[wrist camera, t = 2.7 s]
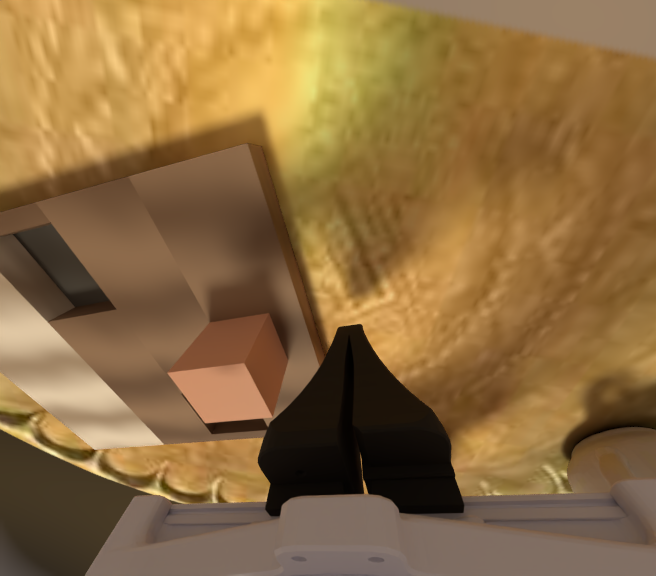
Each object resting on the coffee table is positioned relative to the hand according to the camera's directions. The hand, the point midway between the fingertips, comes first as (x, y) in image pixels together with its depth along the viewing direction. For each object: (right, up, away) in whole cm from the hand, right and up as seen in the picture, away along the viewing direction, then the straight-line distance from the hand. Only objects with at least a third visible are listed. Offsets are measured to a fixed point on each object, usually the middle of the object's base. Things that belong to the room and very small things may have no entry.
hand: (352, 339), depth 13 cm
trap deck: (-15, -1, +5) cm, 15 cm away
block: (-6, -1, +2) cm, 7 cm away
